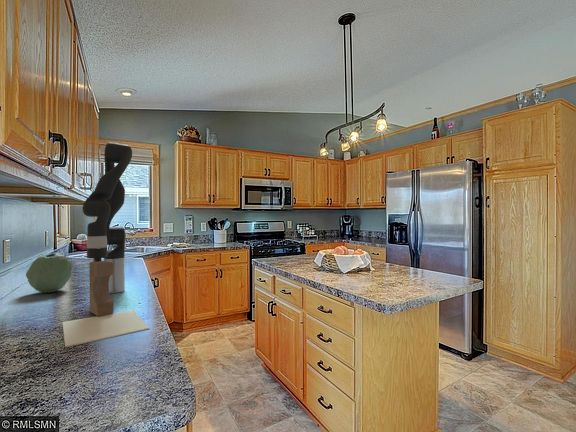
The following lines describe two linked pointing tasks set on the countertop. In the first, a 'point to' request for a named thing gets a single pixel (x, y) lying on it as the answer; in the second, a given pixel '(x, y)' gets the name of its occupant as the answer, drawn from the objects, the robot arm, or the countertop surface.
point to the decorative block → (100, 288)
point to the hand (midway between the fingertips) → (97, 286)
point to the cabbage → (49, 272)
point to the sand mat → (102, 327)
